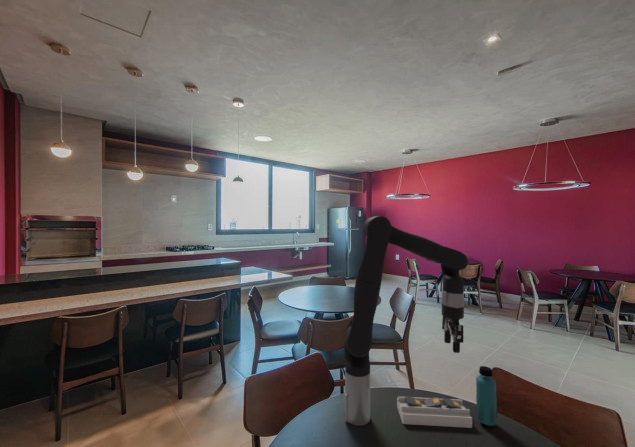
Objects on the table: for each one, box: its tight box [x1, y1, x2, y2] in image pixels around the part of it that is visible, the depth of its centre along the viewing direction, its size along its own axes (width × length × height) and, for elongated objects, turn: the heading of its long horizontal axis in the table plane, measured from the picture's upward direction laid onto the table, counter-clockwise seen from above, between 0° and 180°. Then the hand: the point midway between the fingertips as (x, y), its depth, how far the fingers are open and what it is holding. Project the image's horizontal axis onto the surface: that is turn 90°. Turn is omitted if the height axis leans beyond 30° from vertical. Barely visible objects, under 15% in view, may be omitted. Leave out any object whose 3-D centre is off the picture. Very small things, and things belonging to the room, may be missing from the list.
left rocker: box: [404, 395, 422, 407], centre depth 107 cm, size 5×4×1 cm
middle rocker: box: [424, 396, 442, 408], centre depth 106 cm, size 5×4×1 cm
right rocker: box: [442, 396, 462, 409], centre depth 106 cm, size 5×4×1 cm
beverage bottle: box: [475, 365, 498, 427], centre depth 102 cm, size 6×7×20 cm
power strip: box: [396, 396, 473, 429], centre depth 106 cm, size 24×10×5 cm, turn 86°
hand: (451, 347), depth 106 cm, fingers open, 8 cm apart
